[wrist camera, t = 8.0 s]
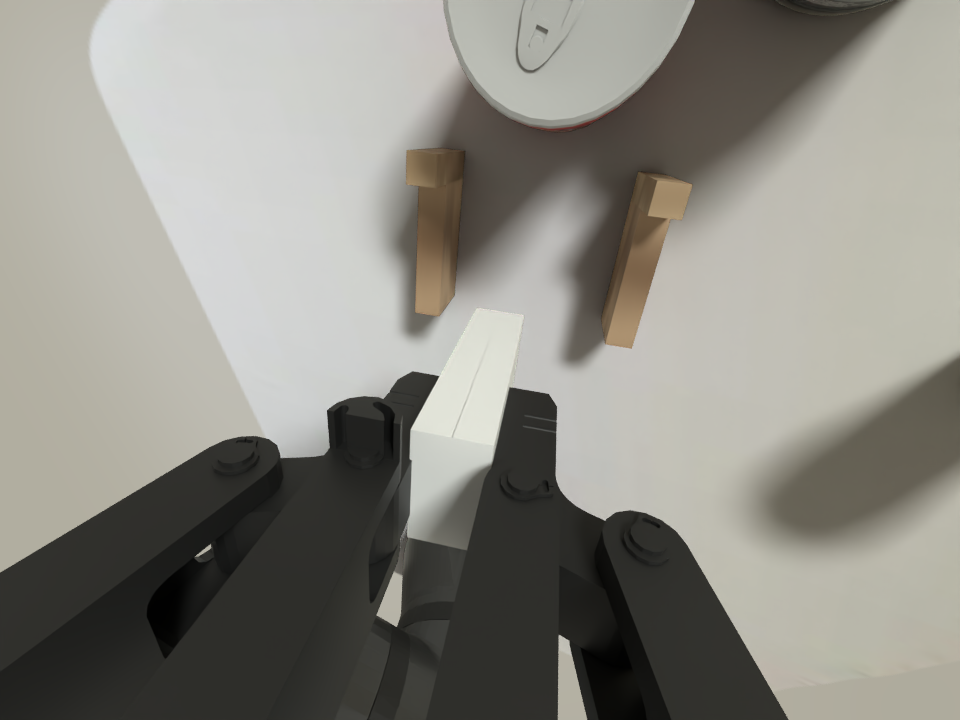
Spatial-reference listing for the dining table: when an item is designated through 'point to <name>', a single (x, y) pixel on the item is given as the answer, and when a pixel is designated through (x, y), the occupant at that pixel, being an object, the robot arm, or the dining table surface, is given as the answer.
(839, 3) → the supplement container
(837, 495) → the dining table surface
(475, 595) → the robot arm
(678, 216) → the chute
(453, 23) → the canned food
